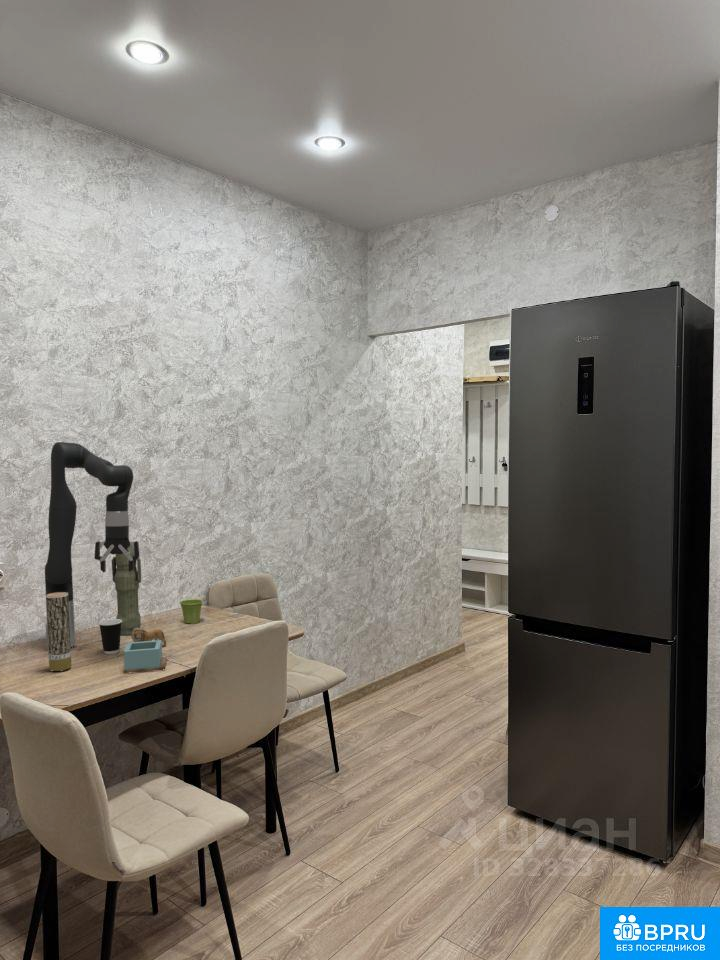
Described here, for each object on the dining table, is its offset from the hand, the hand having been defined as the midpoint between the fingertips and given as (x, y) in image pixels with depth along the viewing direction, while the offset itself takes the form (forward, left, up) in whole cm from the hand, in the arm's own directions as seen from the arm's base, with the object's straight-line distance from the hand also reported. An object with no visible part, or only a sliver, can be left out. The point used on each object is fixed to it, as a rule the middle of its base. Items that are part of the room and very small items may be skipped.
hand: (117, 571), depth 239 cm
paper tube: (-19, -4, -31) cm, 36 cm away
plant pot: (+22, +48, -31) cm, 61 cm away
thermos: (-2, +38, -31) cm, 49 cm away
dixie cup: (-5, +12, -31) cm, 33 cm away
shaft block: (+9, -9, -31) cm, 33 cm away
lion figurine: (+8, +11, -31) cm, 34 cm away
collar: (+8, -9, -30) cm, 32 cm away
